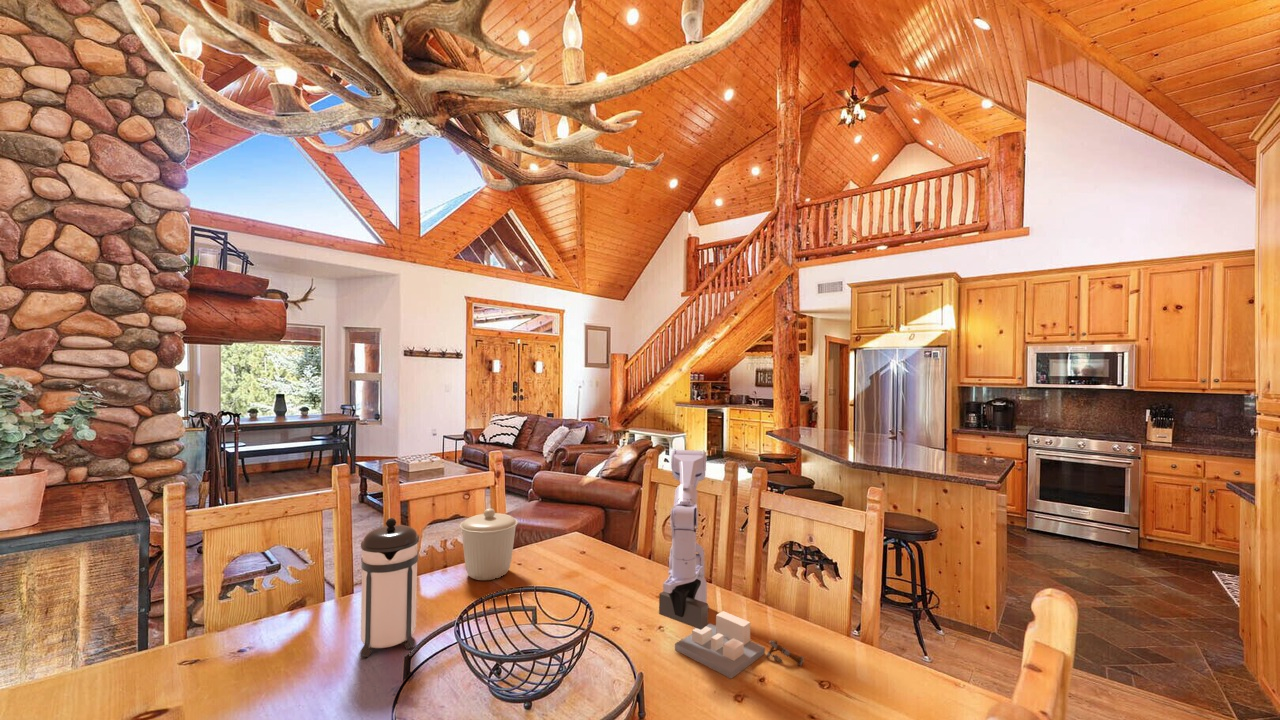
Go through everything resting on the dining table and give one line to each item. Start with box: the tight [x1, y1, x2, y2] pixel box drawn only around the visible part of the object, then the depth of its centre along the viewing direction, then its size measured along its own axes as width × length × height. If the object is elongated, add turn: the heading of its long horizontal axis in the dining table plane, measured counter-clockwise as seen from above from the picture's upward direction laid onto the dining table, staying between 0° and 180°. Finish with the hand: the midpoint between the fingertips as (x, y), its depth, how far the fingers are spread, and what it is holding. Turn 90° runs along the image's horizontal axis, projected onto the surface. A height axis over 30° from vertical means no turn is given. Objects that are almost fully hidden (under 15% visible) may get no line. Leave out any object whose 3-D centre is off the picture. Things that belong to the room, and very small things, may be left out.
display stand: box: [674, 610, 766, 679], centre depth 123 cm, size 14×16×6 cm
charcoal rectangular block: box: [658, 590, 709, 630], centre depth 124 cm, size 3×12×5 cm, turn 52°
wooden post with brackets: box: [765, 640, 804, 667], centre depth 119 cm, size 2×8×4 cm, turn 75°
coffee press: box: [360, 517, 420, 659], centre depth 126 cm, size 17×16×30 cm
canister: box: [459, 507, 519, 581], centre depth 166 cm, size 18×18×21 cm
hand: (683, 612), depth 124 cm, fingers closed on charcoal rectangular block, 3 cm apart
